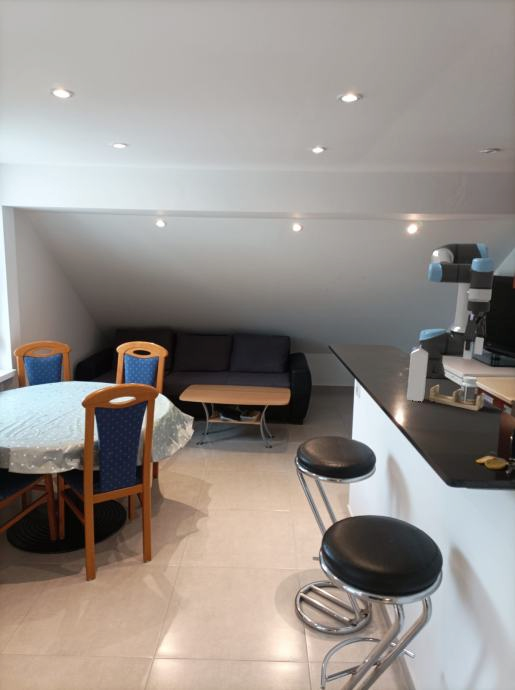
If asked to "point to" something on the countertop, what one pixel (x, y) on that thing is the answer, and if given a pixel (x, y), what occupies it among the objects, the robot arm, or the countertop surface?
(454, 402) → the rack
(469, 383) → the pill bottle
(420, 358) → the milk
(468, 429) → the countertop surface
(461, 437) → the countertop surface
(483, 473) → the countertop surface
